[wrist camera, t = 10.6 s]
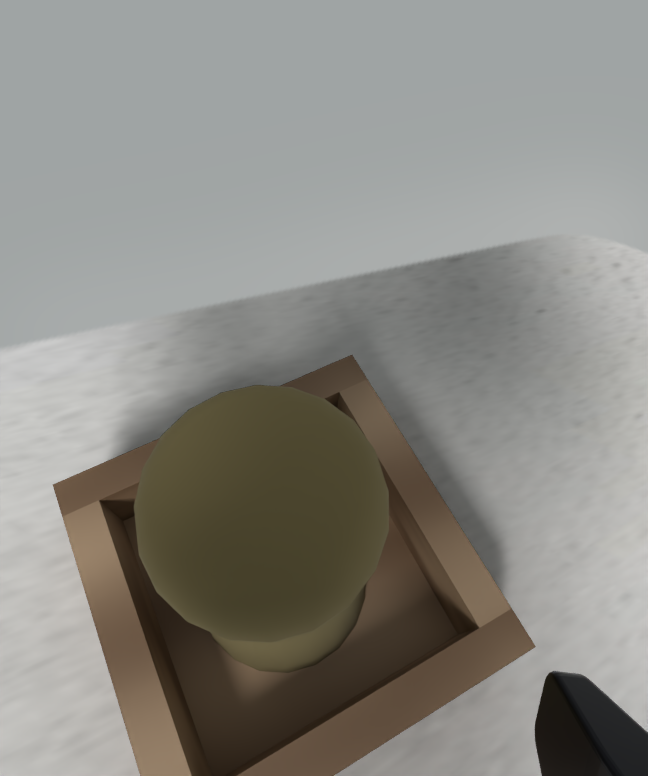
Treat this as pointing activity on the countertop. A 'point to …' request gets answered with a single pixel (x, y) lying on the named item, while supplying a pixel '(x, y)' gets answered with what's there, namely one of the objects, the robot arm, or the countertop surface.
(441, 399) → the countertop surface
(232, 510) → the cork
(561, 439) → the countertop surface
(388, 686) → the tray
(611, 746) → the robot arm
